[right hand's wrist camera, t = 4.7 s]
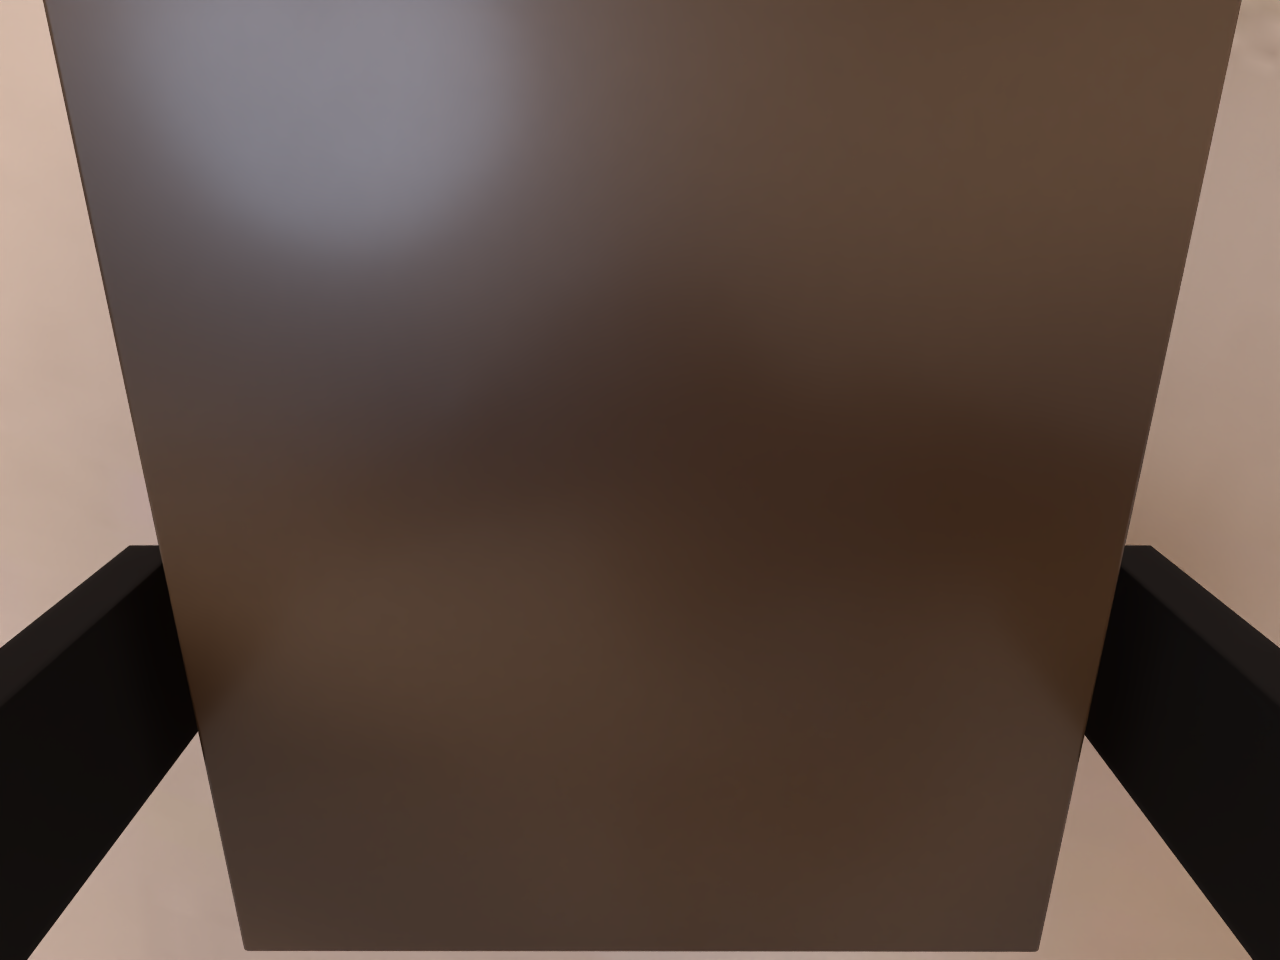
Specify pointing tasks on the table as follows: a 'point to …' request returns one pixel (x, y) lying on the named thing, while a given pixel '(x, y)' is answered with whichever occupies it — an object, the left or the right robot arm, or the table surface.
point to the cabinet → (641, 443)
